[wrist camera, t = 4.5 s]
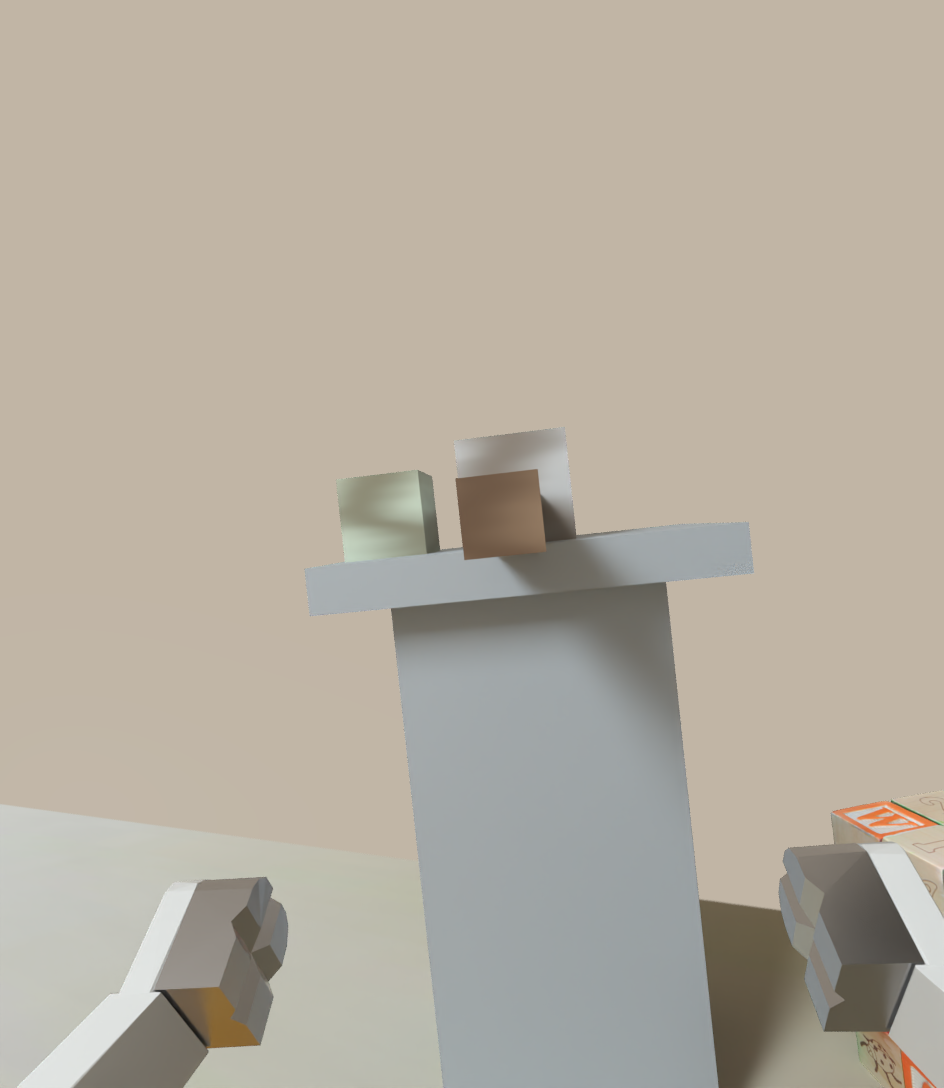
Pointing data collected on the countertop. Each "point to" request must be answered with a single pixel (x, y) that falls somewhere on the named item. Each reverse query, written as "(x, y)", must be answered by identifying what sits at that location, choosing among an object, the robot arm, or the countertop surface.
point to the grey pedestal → (552, 802)
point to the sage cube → (387, 516)
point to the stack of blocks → (940, 859)
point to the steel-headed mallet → (514, 493)
